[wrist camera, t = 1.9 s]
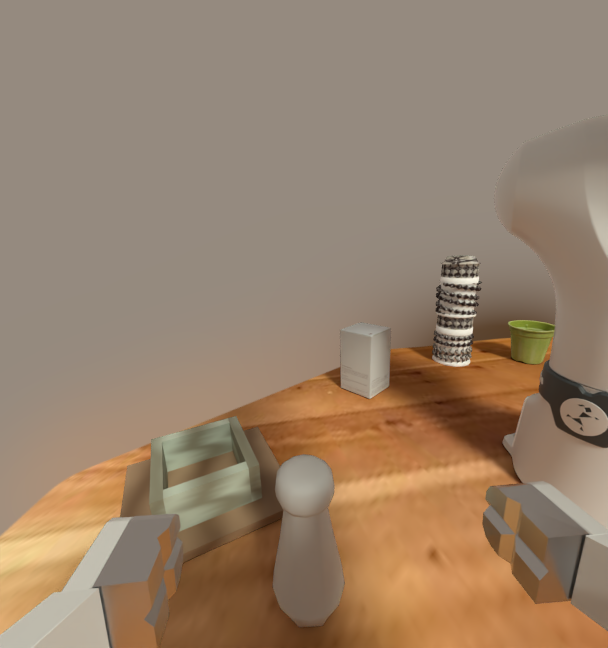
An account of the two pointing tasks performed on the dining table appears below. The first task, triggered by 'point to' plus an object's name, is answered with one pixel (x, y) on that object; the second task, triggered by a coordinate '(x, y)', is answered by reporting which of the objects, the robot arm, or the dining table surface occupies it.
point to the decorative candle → (456, 310)
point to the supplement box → (365, 358)
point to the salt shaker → (307, 543)
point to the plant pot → (530, 340)
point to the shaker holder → (207, 484)
